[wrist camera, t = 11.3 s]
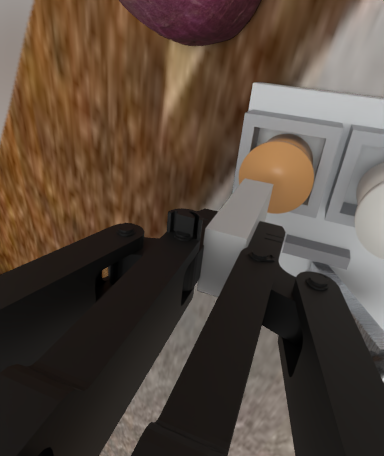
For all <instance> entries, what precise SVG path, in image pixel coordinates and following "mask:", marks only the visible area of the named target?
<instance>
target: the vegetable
mask: <svg viewBox="0 0 384 456" xmlns="http://www.w3.org/2000/svg"><path fill="white" fill-rule="evenodd" d="M119 1H120V2H121V4H122V5H123V6H124V7H125V8H126V9H127V10H128V11H129V12H130V13H131V14H132V15H134V16H135V17H136V18H137V19H138V20H139V21H140V22H142V23H143V24H145V25H146V26H147V27H149V28H150V29H152V30H154V31H155V32H157V33H158V34H159V35H161V36H163V37H165V38H168V39H171V40H173V41H175V42H178V43H181V44H184V45H189V46H203V45H209V44H214V43H218V42H222V41H226V40H229V39H231V38H233V37H234V36H235V35H237V34H238V33H239V32H240V31H241V30H242V29H243V27H244V26H245V25H246V24H247V23H248V22H249V21H250V19H251V17H252V15H253V14H254V12H255V10H256V9H257V7H258V5H259V3H260V1H261V0H119Z"/></svg>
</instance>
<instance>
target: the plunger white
mask: <svg viewBox="0 0 384 456" xmlns="http://www.w3.org/2000/svg"><path fill="white" fill-rule="evenodd" d="M356 198H357V204H358V206H357V208H356V212H355V218H354V221H355V230H356V234H357V237H358V239H359V241H360V242H361V244H362V245H363V246H364V247H365V248H366V249H367V250H368V251H369V252H370V253H371V254H373V255H375V256H376V257H378V258H381V259H383V260H384V162H383V163H380V164H378V165H376V166H374V167H372V168H371V169H370V170H368V171H367V172H366V173H365V174H364V175H363V177H362V178H361V179H360V181H359V183H358V186H357V190H356Z"/></svg>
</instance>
